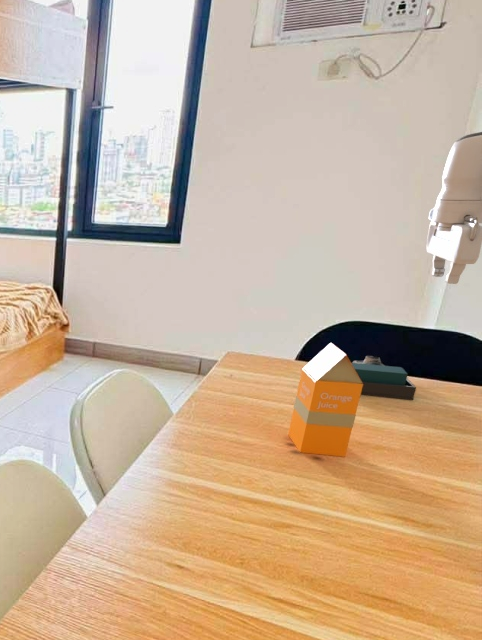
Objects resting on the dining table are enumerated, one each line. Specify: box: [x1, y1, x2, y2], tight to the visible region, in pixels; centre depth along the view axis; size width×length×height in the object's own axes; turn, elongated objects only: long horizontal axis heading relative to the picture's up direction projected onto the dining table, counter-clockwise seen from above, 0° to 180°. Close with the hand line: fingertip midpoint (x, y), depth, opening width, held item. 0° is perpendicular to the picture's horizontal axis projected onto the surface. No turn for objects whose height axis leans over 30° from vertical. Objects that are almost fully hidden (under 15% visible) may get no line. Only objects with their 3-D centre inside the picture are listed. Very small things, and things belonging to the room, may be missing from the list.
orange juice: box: [287, 342, 363, 458], centre depth 120 cm, size 8×9×20 cm
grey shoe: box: [351, 355, 386, 366], centre depth 163 cm, size 5×10×4 cm, turn 2°
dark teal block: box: [351, 362, 409, 386], centre depth 151 cm, size 12×6×5 cm, turn 65°
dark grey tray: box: [360, 377, 417, 401], centre depth 152 cm, size 16×10×3 cm, turn 65°
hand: (444, 279), depth 136 cm, fingers open, 8 cm apart
